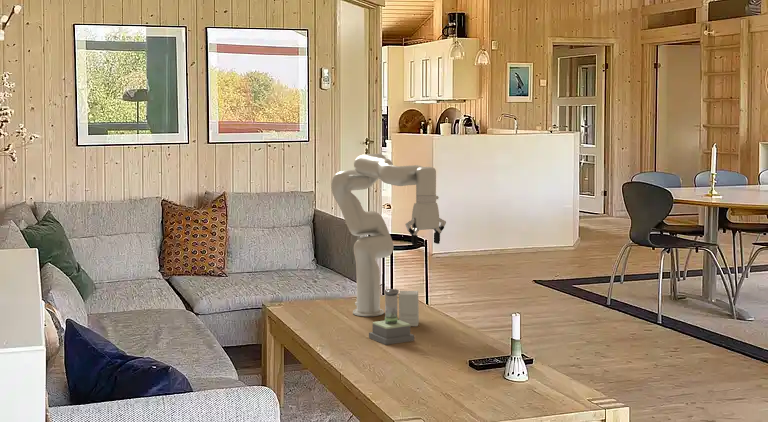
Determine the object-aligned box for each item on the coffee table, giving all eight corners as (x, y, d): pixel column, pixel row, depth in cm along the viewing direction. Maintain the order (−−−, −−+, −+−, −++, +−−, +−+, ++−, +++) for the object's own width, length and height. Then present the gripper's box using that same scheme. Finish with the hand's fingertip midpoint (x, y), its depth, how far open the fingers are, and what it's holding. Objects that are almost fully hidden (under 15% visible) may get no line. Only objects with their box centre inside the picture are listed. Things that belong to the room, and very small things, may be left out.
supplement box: (419, 322, 381) (419, 290, 380) (417, 326, 374) (417, 294, 372) (400, 322, 382) (400, 290, 380) (398, 326, 374) (398, 294, 373)
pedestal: (368, 338, 356) (368, 321, 356) (397, 333, 362) (396, 318, 362) (385, 344, 346) (385, 328, 345) (414, 340, 352) (414, 324, 351)
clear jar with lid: (381, 322, 354) (381, 289, 353) (393, 320, 357) (393, 288, 356) (388, 325, 350) (388, 292, 349) (401, 323, 353) (401, 291, 351)
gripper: (440, 197, 377) (439, 241, 379) (401, 199, 368) (401, 244, 370) (450, 199, 370) (450, 244, 372) (411, 201, 362) (411, 247, 364)
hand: (425, 244), depth 371 cm, fingers open, 9 cm apart
